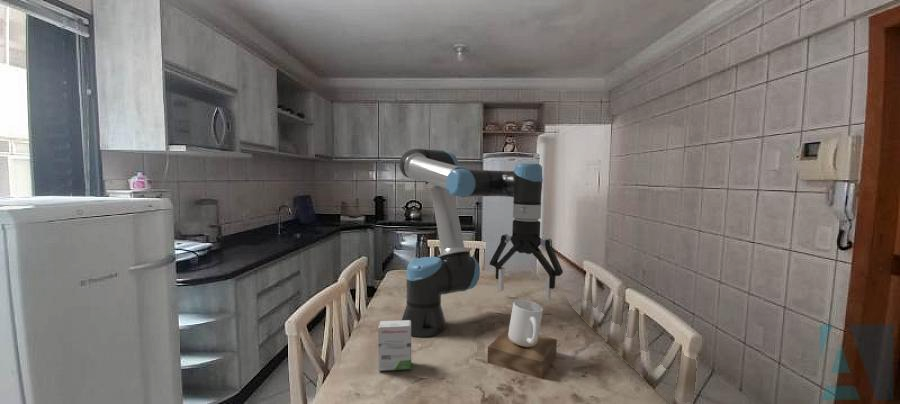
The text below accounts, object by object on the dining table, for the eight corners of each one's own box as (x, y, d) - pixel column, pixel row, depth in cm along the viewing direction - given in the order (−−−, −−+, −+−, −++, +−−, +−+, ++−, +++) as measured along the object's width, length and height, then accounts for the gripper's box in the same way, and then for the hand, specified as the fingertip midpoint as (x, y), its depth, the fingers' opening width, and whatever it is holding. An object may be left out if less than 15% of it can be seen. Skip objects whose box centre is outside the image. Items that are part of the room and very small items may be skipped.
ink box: (411, 360, 97) (411, 318, 96) (411, 370, 92) (411, 326, 91) (379, 361, 96) (379, 319, 95) (377, 371, 91) (377, 327, 91)
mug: (547, 356, 92) (554, 318, 91) (517, 354, 91) (524, 316, 90) (530, 334, 104) (536, 300, 103) (504, 332, 103) (509, 298, 102)
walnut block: (487, 364, 96) (487, 346, 96) (507, 343, 109) (507, 327, 109) (541, 381, 89) (542, 361, 89) (556, 356, 102) (556, 339, 102)
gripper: (479, 217, 100) (477, 290, 101) (570, 224, 87) (566, 308, 89) (490, 215, 106) (488, 284, 108) (576, 222, 94) (572, 299, 95)
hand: (523, 295), depth 98 cm, fingers open, 13 cm apart
